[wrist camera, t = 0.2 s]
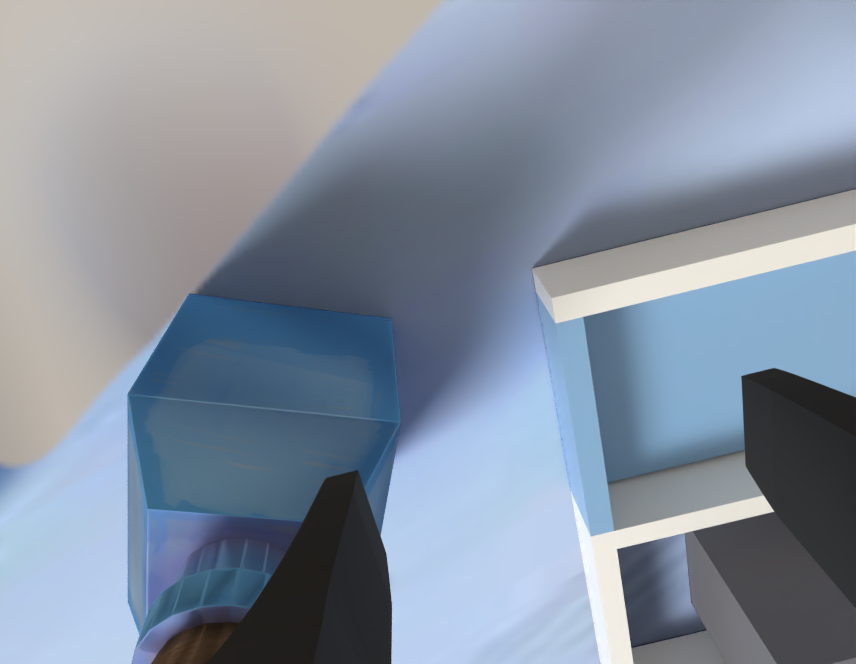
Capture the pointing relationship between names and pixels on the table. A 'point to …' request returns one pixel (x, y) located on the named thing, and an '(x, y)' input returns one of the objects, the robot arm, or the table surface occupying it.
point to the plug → (767, 596)
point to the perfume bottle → (244, 456)
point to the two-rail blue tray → (686, 380)
